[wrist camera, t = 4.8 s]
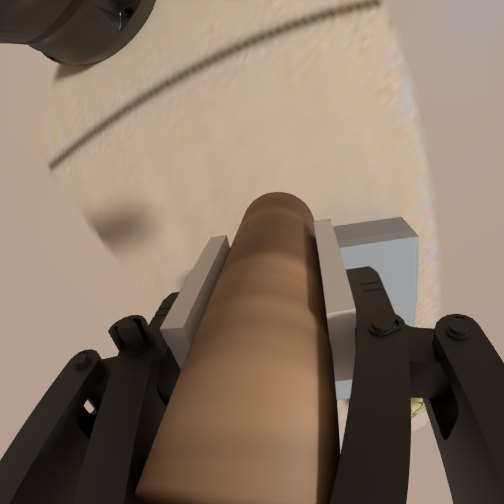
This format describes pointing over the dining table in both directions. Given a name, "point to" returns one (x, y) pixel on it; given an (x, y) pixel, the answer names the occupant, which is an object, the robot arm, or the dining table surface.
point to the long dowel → (255, 377)
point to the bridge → (383, 265)
